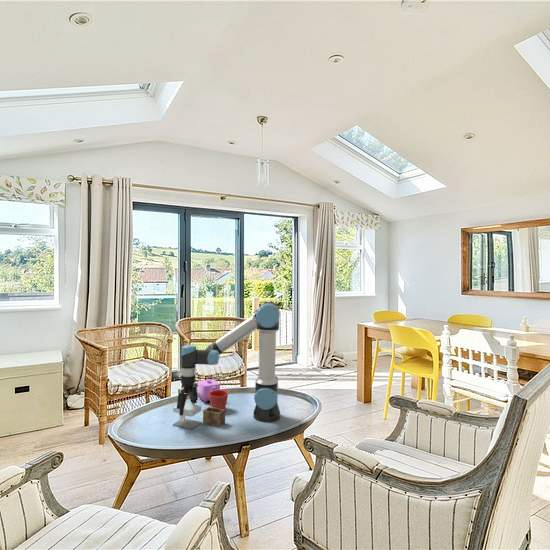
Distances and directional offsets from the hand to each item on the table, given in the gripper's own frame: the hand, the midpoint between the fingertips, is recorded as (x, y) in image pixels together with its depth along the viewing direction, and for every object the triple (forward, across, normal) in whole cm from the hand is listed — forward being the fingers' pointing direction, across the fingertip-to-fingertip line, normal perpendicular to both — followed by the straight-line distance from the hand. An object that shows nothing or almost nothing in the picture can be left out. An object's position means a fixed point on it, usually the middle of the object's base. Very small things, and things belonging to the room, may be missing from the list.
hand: (187, 418), depth 195 cm
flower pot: (+3, -25, +4) cm, 26 cm away
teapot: (+4, -36, -9) cm, 37 cm away
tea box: (+3, -7, +12) cm, 14 cm away
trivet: (+3, 0, 0) cm, 3 cm away
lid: (-3, 0, 0) cm, 3 cm away
